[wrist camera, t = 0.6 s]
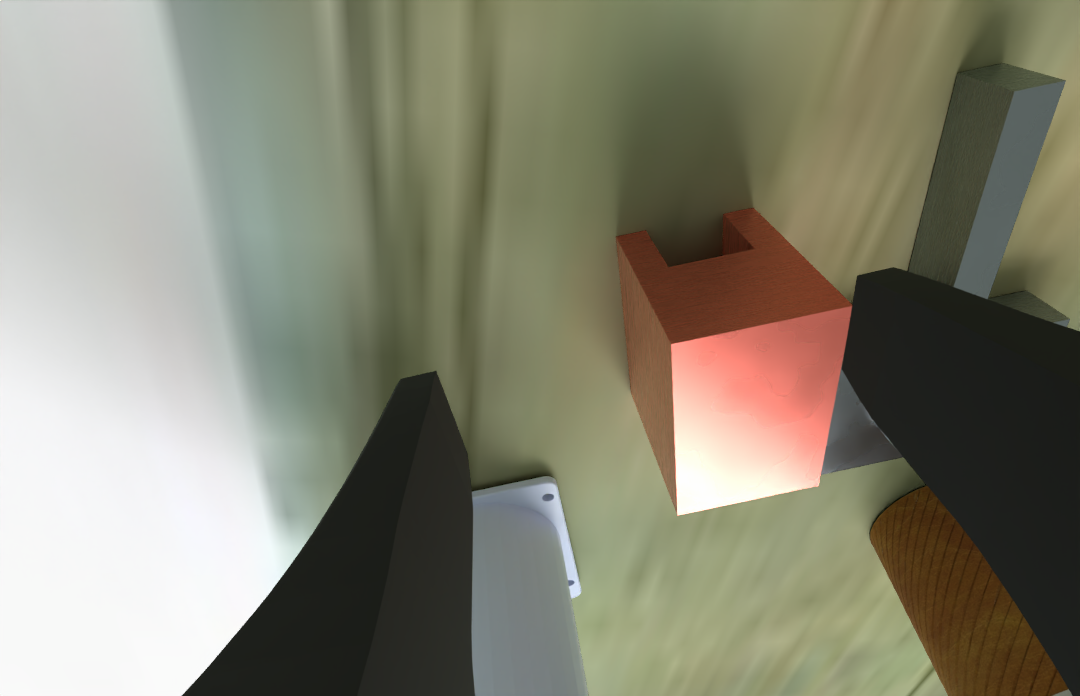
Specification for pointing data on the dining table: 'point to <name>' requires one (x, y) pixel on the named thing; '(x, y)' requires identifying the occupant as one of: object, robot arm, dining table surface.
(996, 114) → the lip
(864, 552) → the dining table surface
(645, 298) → the block
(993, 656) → the disposable coffee cup
